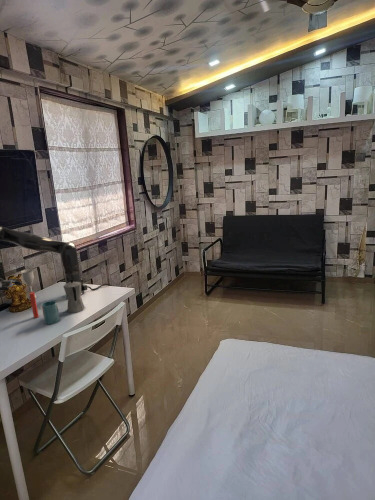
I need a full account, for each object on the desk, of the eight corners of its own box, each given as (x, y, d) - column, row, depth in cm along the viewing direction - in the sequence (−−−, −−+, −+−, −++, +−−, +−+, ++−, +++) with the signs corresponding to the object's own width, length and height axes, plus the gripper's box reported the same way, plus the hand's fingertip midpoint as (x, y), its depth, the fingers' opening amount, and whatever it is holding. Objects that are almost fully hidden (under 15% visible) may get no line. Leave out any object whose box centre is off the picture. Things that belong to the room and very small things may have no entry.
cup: (54, 317, 178) (51, 299, 175) (62, 319, 174) (59, 302, 171) (42, 322, 172) (38, 304, 170) (50, 325, 168) (47, 307, 166)
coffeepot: (66, 307, 190) (61, 277, 185) (83, 303, 193) (78, 274, 189) (69, 317, 176) (64, 285, 172) (87, 313, 180) (82, 282, 176)
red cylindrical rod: (37, 315, 181) (32, 291, 178) (39, 316, 180) (35, 292, 176) (33, 317, 179) (28, 293, 176) (35, 318, 178) (30, 294, 174)
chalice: (33, 300, 204) (28, 272, 200) (23, 299, 206) (18, 272, 202) (40, 295, 211) (35, 268, 207) (31, 295, 213) (26, 268, 208)
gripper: (-21, 281, 177) (2, 283, 172) (2, 273, 190) (23, 275, 185) (-18, 295, 179) (5, 297, 173) (4, 286, 192) (26, 288, 186)
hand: (14, 286), depth 179 cm, fingers open, 8 cm apart
